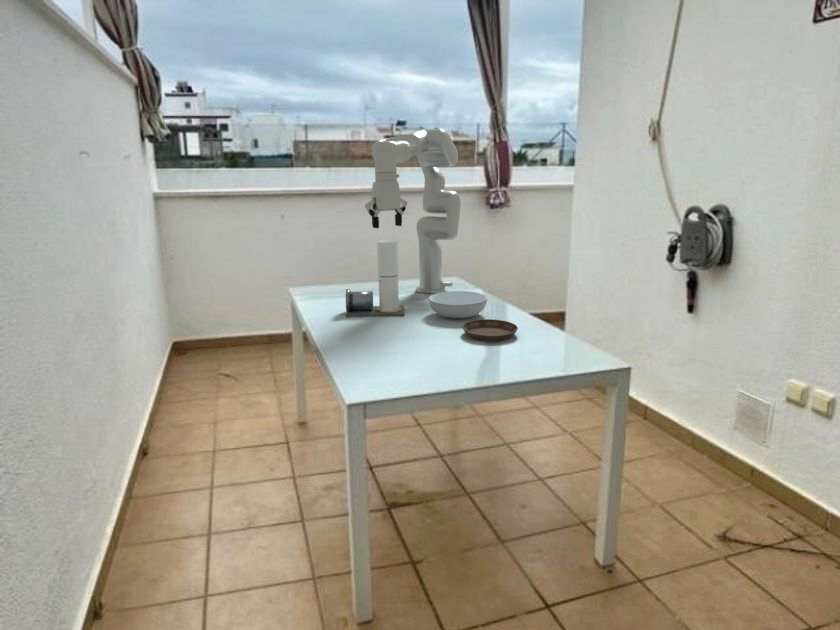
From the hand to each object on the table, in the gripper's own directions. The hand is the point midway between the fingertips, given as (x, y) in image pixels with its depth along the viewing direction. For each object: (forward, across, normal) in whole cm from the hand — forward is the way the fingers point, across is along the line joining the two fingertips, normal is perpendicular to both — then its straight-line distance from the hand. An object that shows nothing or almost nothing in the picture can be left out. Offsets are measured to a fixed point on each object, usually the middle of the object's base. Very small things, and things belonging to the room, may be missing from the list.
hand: (387, 226), depth 211 cm
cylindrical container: (+30, 0, 0) cm, 30 cm away
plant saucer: (+32, -9, +44) cm, 56 cm away
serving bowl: (+32, -17, +19) cm, 41 cm away
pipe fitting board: (+32, +4, -3) cm, 32 cm away
